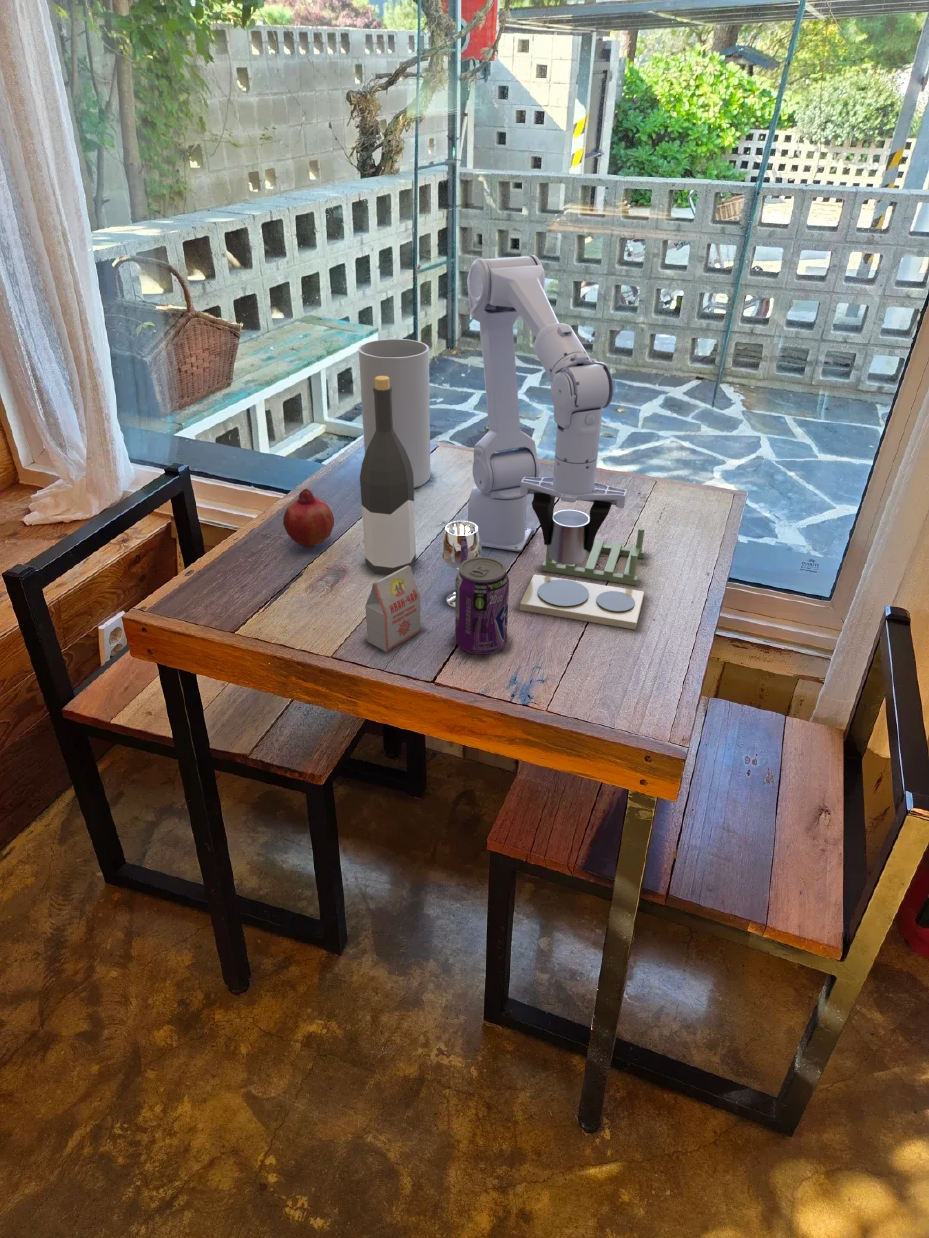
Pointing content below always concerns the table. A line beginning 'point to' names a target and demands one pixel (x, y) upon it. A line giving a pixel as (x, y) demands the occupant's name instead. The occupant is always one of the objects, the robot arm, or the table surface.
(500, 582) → the beverage can
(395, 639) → the tea bag
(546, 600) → the hob
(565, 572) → the rack
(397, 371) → the cylinder vase
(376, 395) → the wine bottle
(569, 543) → the pot
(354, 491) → the table surface
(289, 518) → the fruit
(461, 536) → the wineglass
